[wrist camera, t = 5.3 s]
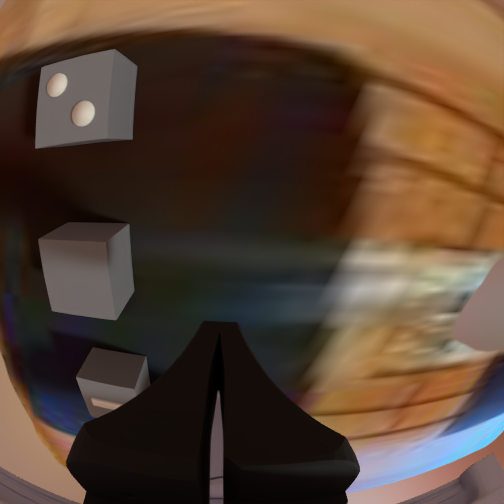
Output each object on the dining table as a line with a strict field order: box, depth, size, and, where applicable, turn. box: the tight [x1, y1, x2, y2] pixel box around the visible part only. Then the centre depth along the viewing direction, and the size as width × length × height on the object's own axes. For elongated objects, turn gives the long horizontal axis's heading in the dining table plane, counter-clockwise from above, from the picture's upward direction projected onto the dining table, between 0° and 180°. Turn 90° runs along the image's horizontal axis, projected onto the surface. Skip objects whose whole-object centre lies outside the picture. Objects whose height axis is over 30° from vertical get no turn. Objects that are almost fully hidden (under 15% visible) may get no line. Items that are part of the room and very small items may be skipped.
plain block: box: [38, 222, 134, 320], centre depth 17 cm, size 5×5×4 cm
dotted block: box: [35, 49, 137, 148], centre depth 14 cm, size 5×5×4 cm
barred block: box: [76, 347, 150, 418], centre depth 21 cm, size 5×5×4 cm
